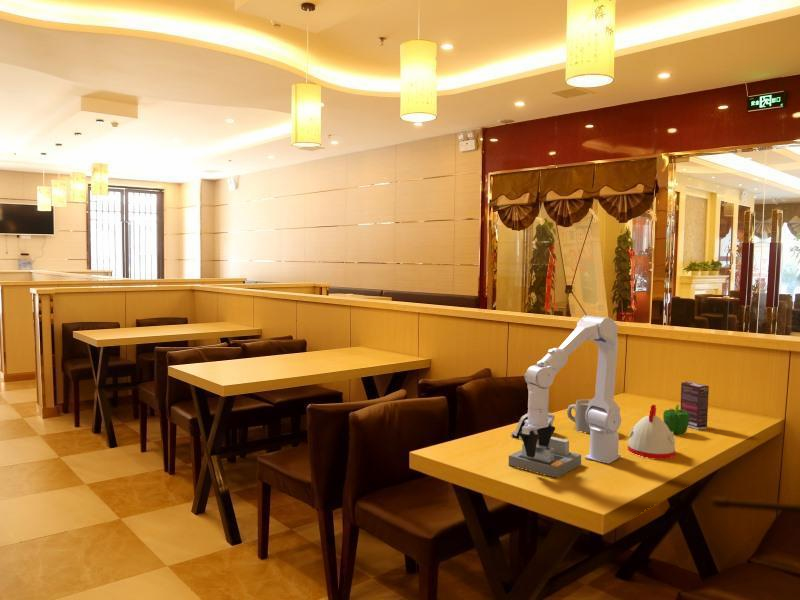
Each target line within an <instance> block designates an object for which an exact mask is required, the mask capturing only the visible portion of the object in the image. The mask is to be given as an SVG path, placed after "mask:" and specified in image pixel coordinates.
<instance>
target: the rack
mask: <svg viewBox="0 0 800 600" xmlns="http://www.w3.org/2000/svg"><path fill="white" fill-rule="evenodd" d="M537 445H539V438H538V441H537ZM548 447H550V448H554V449H555V451H554V463H552V464H551V465H548V464H544V463H540V462H536V461H532V460H528V459H524V458H522V449H521V450H518V451H515V452H514V453H511V454H509V455H508V466H509V465H511V466H510V467H512V466H515V467H514V468H516V467H519V468H518V469H520V468H523V469H522V470H524V469H527V470H531V471H534V472H533V473H535V472H538V473H537V474H539V473H542V474H541V475H543V474H545V475H544V476H547V475H549V476H548V477H550V476H552V478H554V477H556V478H555V479H558V478H560V477H561V476H563V475H565V474H567V473H568V471H569V472H570V471H572V470H574V469H576V468H577V467H579V466H581V465H582V453H581V454H579V453H576V452H572V451H570V440H569V439H564V438H559V437H555V436H551V439H550V442H549V446H548ZM527 470H526V471H527ZM531 471H530V472H531ZM559 476H560V477H559ZM557 477H558V478H557Z"/></svg>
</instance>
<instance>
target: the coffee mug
mask: <svg viewBox="0 0 800 600" xmlns="http://www.w3.org/2000/svg"><path fill="white" fill-rule="evenodd" d="M591 400H592V399H588V398H587V399H585V398H584V399H577V400H576V401H575V404H570V405H568V407H567V410H566V412H567V413H566V414H567V417H568V419H569V420H571V421H572V422H573V423H574V425H575V428H574V429H575V430H576V431H577V430H578V431H577V432H579V431H582V432H586V433H585V434H588V433H590V428H589V424H588V423H587V421H586V419H585V414H586V411H587V409H588V405H589V401H591ZM572 409H574V412H575V414H574V416H573V414H572ZM582 432H581V433H582Z"/></svg>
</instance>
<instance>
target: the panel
mask: <svg viewBox="0 0 800 600" xmlns="http://www.w3.org/2000/svg"><path fill="white" fill-rule="evenodd" d="M521 450H522V458H524V459H528V460H532V461H536V462H540V463H544V464H548V465H551V464H552V463H554V451H555V449H554V448H550V447H546V446H541V445H538V444H537V445H536V452H535V456H534V458H532V457H528V456H527V454H526V450H525V446H524V443H522V445H521Z"/></svg>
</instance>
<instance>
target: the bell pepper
mask: <svg viewBox="0 0 800 600" xmlns="http://www.w3.org/2000/svg"><path fill="white" fill-rule="evenodd" d="M679 408H680V404H679V403H676V404H675V409H674V408H669V409H666V410H663V415H662V418H663V419H662V420H663V421H664V422H665V424H666V425H667V426H668V428H669V430H670V432H673V435H675V434H677V435H685V434H686V432H687V430H688V428H689V427H688V424H689V413H688V412H685V411H682V410H680V409H679Z"/></svg>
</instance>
